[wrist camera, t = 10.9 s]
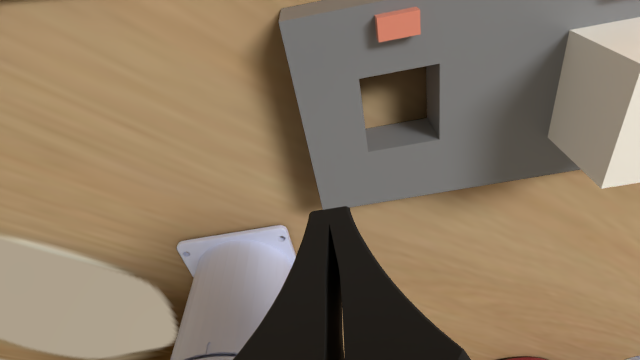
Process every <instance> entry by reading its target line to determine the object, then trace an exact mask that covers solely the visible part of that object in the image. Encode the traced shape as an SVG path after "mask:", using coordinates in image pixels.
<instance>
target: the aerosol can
mask: <svg viewBox="0 0 640 360" xmlns="http://www.w3.org/2000/svg"><path fill="white" fill-rule="evenodd" d="M626 360H640V356H637V357H633V358H629V359H626Z"/></svg>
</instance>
